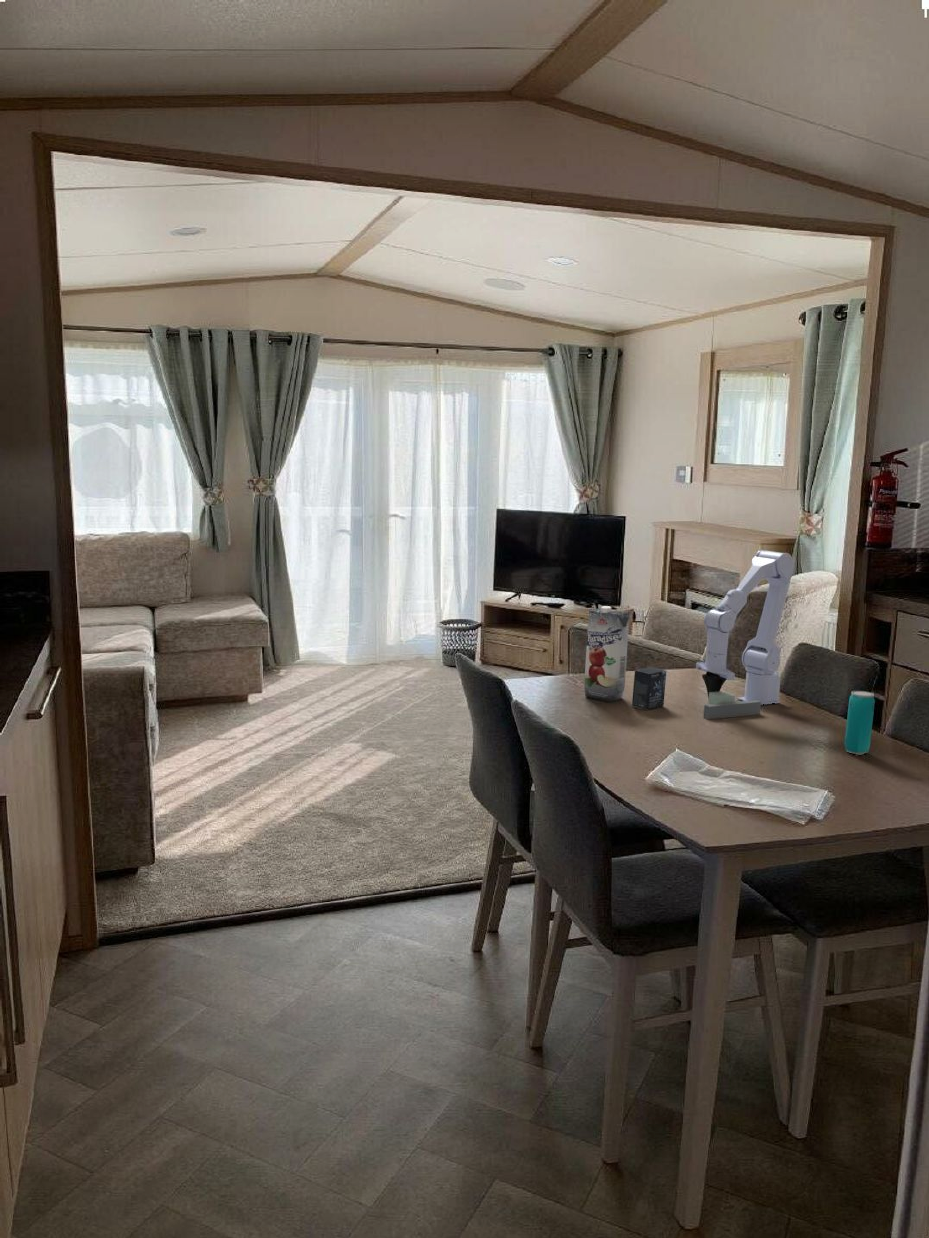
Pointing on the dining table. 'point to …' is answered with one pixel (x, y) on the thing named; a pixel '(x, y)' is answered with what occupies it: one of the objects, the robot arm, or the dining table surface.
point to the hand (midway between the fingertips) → (712, 699)
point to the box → (649, 688)
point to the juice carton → (606, 653)
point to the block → (720, 697)
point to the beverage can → (859, 722)
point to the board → (732, 709)
